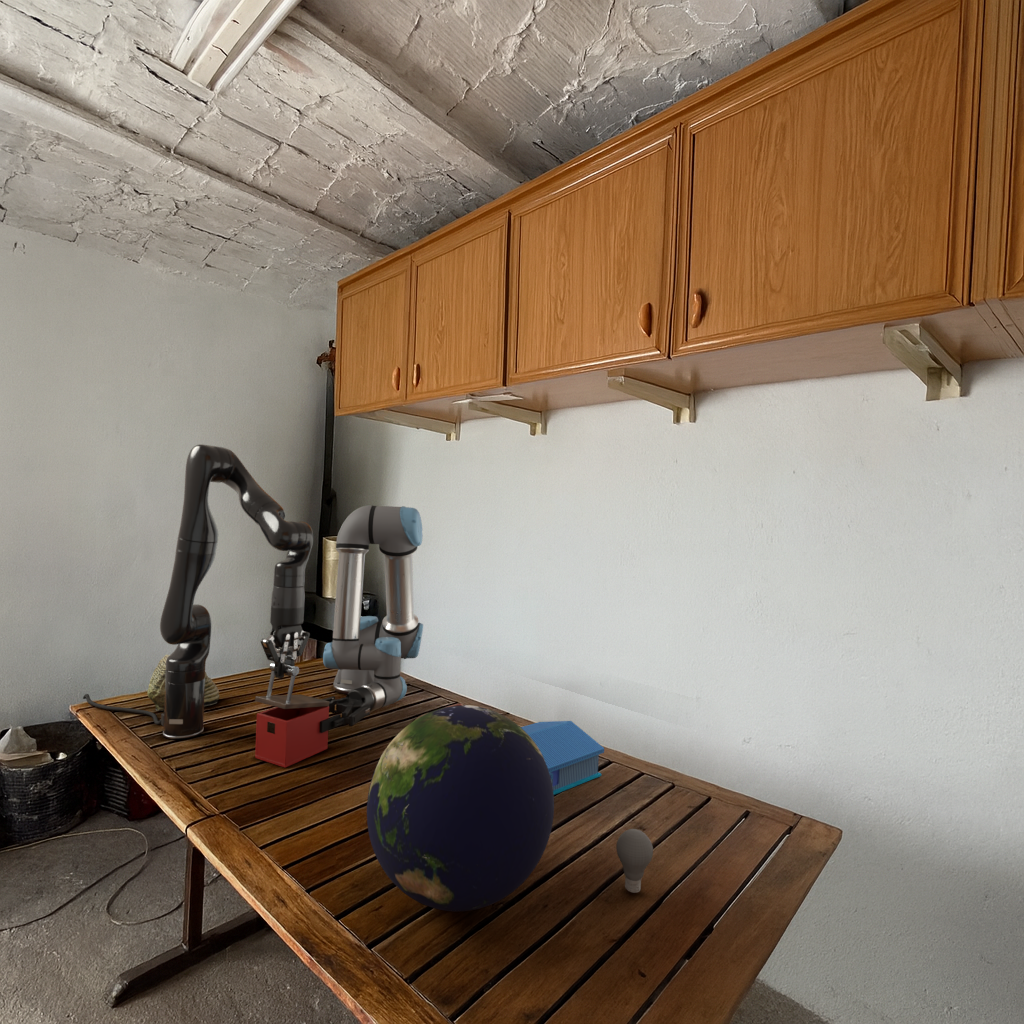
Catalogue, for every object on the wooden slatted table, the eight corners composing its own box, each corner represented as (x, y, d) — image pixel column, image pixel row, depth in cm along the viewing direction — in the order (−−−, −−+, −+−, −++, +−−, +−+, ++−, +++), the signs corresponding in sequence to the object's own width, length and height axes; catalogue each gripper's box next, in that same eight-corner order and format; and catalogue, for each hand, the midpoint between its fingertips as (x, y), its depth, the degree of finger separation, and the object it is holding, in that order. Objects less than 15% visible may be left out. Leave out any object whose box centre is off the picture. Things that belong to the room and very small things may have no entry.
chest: (285, 767, 147) (286, 722, 147) (255, 758, 151) (256, 713, 151) (327, 748, 159) (329, 706, 159) (298, 740, 164) (300, 698, 163)
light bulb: (610, 879, 108) (613, 822, 108) (644, 879, 109) (647, 822, 109) (619, 902, 102) (622, 840, 102) (655, 901, 103) (658, 840, 103)
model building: (483, 834, 121) (485, 782, 121) (412, 787, 139) (414, 742, 139) (612, 780, 148) (614, 737, 147) (538, 746, 166) (540, 708, 166)
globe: (322, 922, 94) (330, 722, 94) (423, 829, 122) (430, 674, 122) (507, 988, 83) (517, 762, 83) (572, 869, 111) (580, 699, 110)
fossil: (144, 707, 182) (145, 655, 182) (212, 696, 194) (213, 647, 194) (151, 716, 175) (153, 662, 175) (221, 703, 188) (223, 653, 188)
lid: (284, 709, 146) (293, 667, 148) (254, 701, 151) (262, 660, 152) (328, 706, 159) (336, 667, 160) (299, 698, 163) (307, 661, 165)
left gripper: (275, 609, 144) (272, 685, 144) (320, 603, 156) (317, 673, 156) (253, 605, 147) (249, 679, 147) (298, 599, 159) (294, 667, 160)
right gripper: (396, 721, 173) (338, 747, 153) (333, 705, 183) (272, 728, 164) (397, 693, 173) (339, 716, 153) (334, 679, 183) (273, 699, 164)
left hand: (284, 676), depth 152 cm, fingers closed on lid, 2 cm apart
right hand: (304, 722), depth 158 cm, fingers closed on chest, 10 cm apart
